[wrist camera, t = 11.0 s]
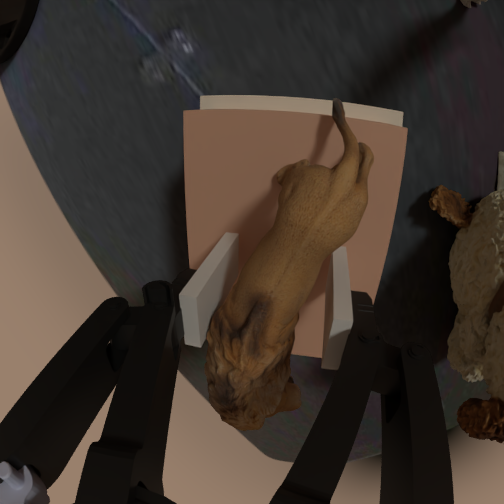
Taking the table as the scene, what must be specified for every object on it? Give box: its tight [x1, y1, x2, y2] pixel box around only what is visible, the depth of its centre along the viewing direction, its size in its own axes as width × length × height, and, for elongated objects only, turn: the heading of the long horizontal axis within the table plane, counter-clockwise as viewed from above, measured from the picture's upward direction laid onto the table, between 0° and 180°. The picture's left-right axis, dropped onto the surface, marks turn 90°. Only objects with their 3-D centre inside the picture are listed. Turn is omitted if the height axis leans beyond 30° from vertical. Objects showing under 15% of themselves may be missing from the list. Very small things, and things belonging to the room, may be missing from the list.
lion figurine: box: [205, 98, 374, 431], centre depth 13 cm, size 15×5×9 cm, turn 168°
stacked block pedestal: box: [184, 95, 408, 358], centre depth 22 cm, size 14×18×10 cm
